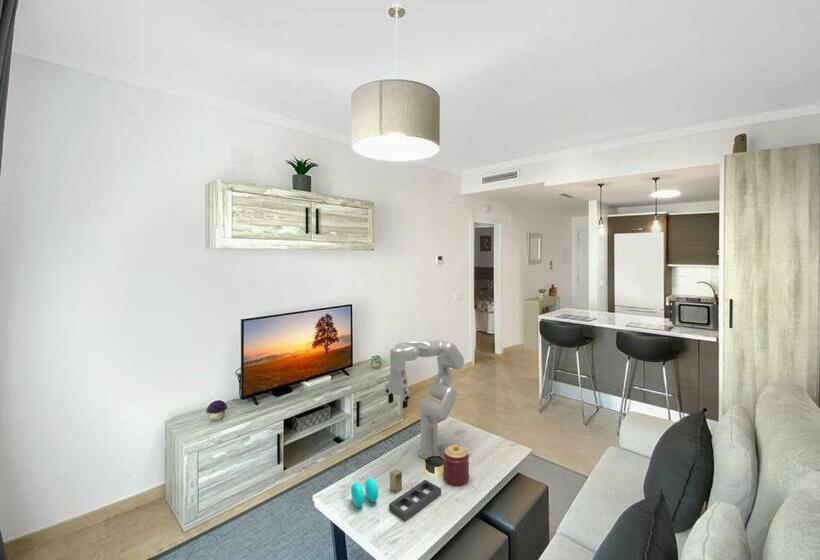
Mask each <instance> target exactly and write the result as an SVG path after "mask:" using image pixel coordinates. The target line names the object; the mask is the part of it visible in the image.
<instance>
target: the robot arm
mask: <svg viewBox="0 0 820 560" xmlns="http://www.w3.org/2000/svg"><path fill="white" fill-rule="evenodd" d="M389 354H390V355H389V356H390V360H389V361H390V362H389V363H390V373H389V376H388V384H385V385H384V388H385V392H386V393H387V396H388V397H387V398H388V404H392V403H394V395H395V396H399V397H401V398H402V409H406V408H408V407H409V404H408V403H409V401H408V400H409V399H411V396H412V395H413V392H412V391H410V390H409V384H408V383H409V381H408V377H407V372H406V362H412V361H416V360H417V359H418V358H419V357H420V358H431V357H436V356H437V357H436V362H437V369H438V370H437V374H436V376H435V377H434V378H435V379H434V380H433V383H432V384H431V387H430V389H429V396H431V397H432V398H431V397H429V398H428V397H426V398H422V399H420V401H419V403H418V404H419V405H418V412H419V417H420V418H419V419H420V448H419V449H418V452H417V454H418V456H419V457H420V458H422V459H424V460H426V459H425V458H427V457H430V456H439V457H440V456H441V450H440V447H442V446H443V444H444V443H443V442H442V441H440V442H439V439H438V438H439V436H438V435H439V433H438V432H439V426H438V425H439V423H438V422H444V421H446V420H447V418H448V417H449V415H450V413H451V410H452V408H453V406H454V404H455V403H456V400H457V397H458V396H457V395H458V393H457V389H456V387H455V386H453V385H450V384H451V381H452V377H453V376H452V372H451V369H453V370H461V369H462V368H463V367H464V364H465V359H464V356H463V354H462V353H461V351H460V350H459V348H458V347H457V346H456V344H455V343H453V342H452V341H446V340H443V339H437V340H427V341H401V342H398V343H397V344H395V345H394V347H392V348H391V349H390V351H389ZM435 399H436V400H435ZM438 400H439V401H438Z"/></svg>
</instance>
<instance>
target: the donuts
mask: <svg viewBox="0 0 820 560" xmlns="http://www.w3.org/2000/svg"><path fill="white" fill-rule="evenodd" d="M364 492H365V493H364ZM350 493H351V498H352V501H353V504H354V506H356V507H357V508H361V507H362V506H363V505H364V504H365V495H366V497H367V499H368V501H370V502H372V503H374V502H376V501H378V498H379V490H378V486H377V483H376V481H375V479H374V478H373V477H367V479H366V480H365V484H364V489H363V487H362V485H361V484H360V483H359V482H356V481H355V482H353V483H352V485H351V492H350Z"/></svg>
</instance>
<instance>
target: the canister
mask: <svg viewBox="0 0 820 560" xmlns="http://www.w3.org/2000/svg"><path fill="white" fill-rule="evenodd" d="M442 457H443V461H442V462H443V463H442V464H443V472H442V476H443V480H444V481H445V482H446V483H447V484H448V485H451V486H455V487H458V486H460V487H461V486H464V485H466V484H467V483H468V482H469V479H470V471H469V470H470V468H469V467H470V466H469V465H470V461H469V459H470V455H469V453H468V450H467V449H466V448H465V447H463V446H462V445H459V444H452V445H449V446H447V447H445V449H444V453H443V455H442Z"/></svg>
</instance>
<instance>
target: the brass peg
mask: <svg viewBox="0 0 820 560" xmlns="http://www.w3.org/2000/svg"><path fill="white" fill-rule="evenodd" d="M402 477H403V473H402V471H401V470H399V469H398V468H393V469H392V470H391V471H390V472H389V490H390V491H391V492H393V493H394V494H397V493H399V492H401V491H403V480H402V479H403V478H402Z"/></svg>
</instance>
